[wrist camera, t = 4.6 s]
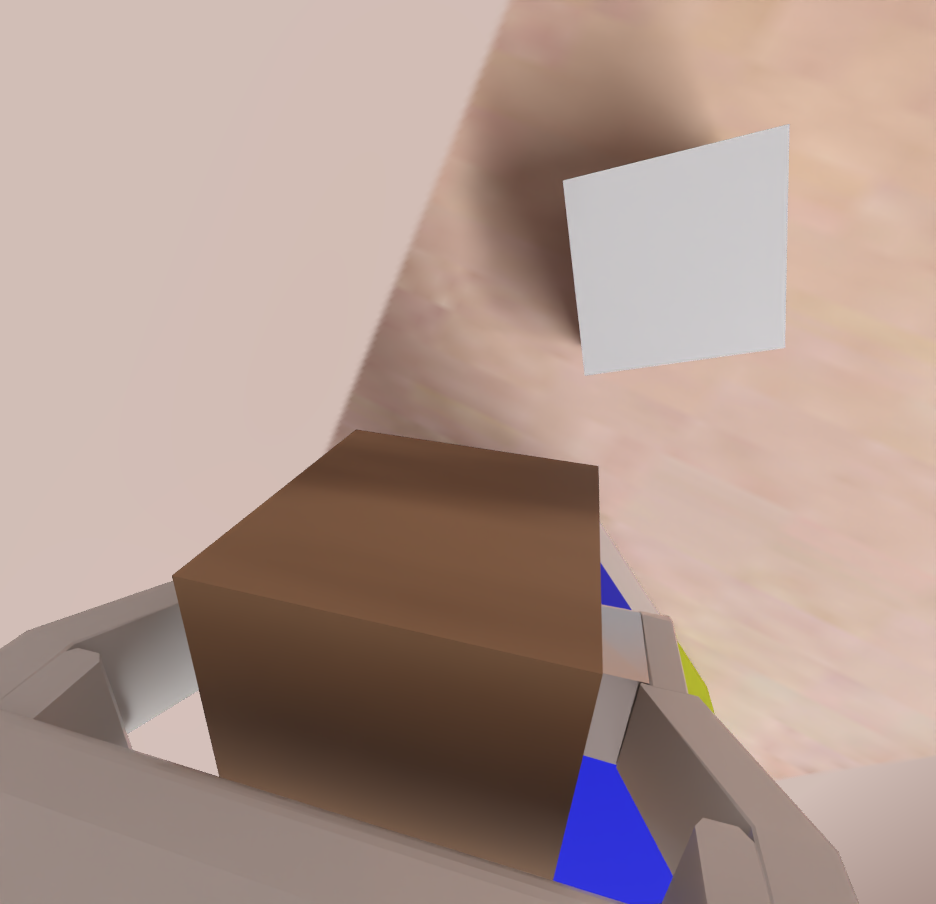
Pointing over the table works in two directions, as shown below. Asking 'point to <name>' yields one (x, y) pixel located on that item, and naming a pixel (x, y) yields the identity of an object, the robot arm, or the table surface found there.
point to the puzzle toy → (616, 787)
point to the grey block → (682, 254)
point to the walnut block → (409, 642)
